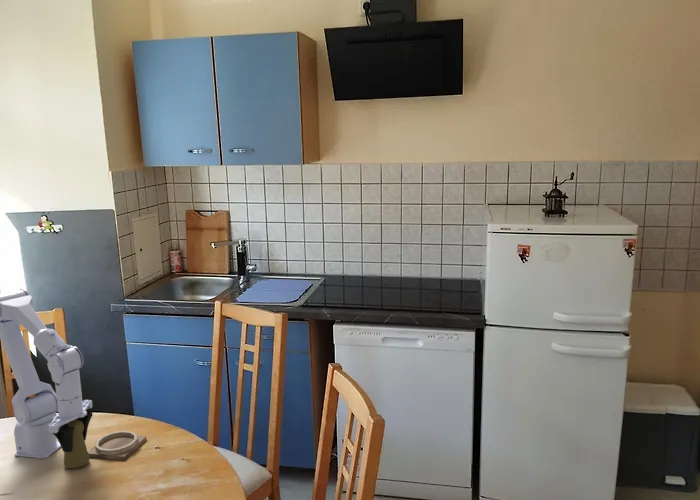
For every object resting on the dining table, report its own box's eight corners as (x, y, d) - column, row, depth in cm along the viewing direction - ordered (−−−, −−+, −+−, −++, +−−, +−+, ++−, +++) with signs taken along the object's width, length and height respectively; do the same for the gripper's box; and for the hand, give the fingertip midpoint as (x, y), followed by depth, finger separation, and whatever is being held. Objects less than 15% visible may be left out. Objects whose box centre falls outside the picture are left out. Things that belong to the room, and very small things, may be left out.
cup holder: (86, 456, 157) (85, 449, 157) (110, 436, 168) (110, 429, 167) (124, 460, 155) (123, 452, 154) (146, 439, 165) (145, 432, 165)
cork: (79, 469, 149) (74, 428, 147) (58, 467, 151) (53, 426, 149) (94, 456, 155) (90, 417, 153) (74, 454, 156) (69, 415, 154)
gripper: (64, 409, 142) (70, 462, 144) (100, 385, 156) (105, 433, 158) (38, 407, 143) (44, 459, 146) (76, 383, 157) (81, 431, 160)
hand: (74, 445), depth 152 cm, fingers closed on cork, 5 cm apart
